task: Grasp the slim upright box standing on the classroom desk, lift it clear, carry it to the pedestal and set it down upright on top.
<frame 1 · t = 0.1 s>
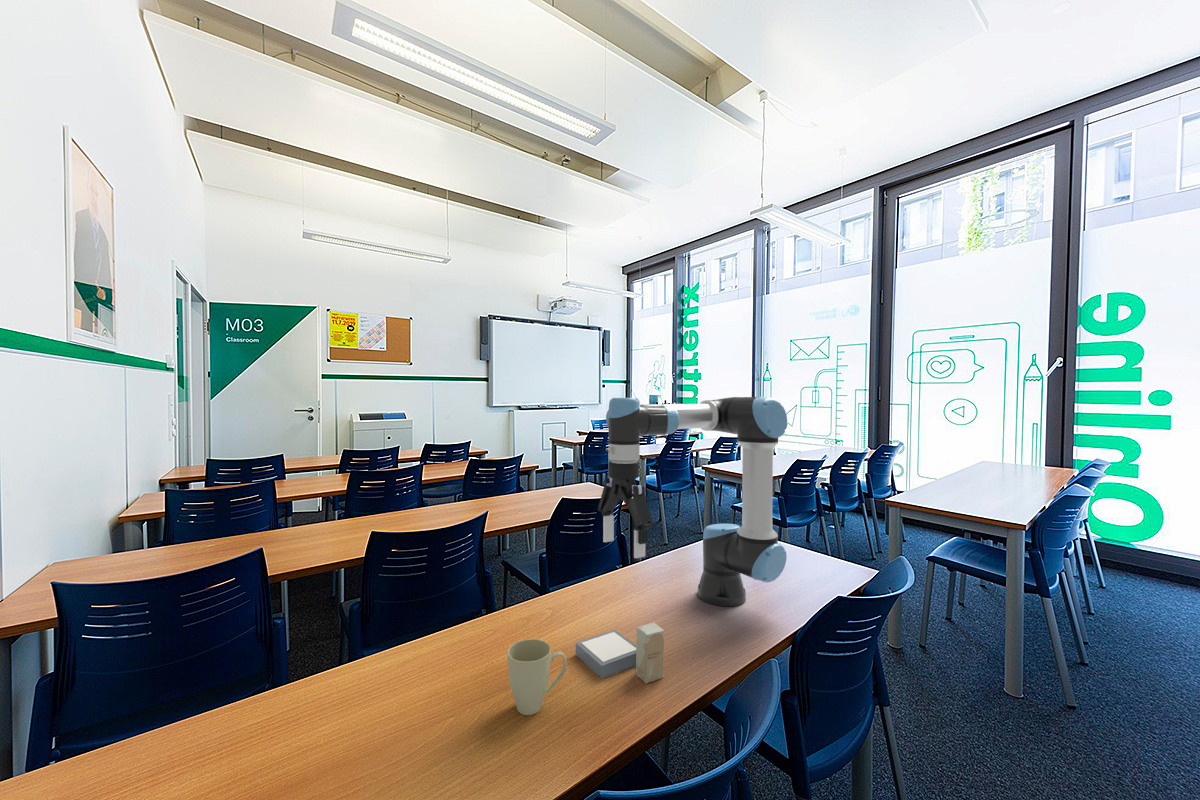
hand: (623, 548, 113), 28 cm above the table, fingers open, 13 cm apart
pedestal: (608, 658, 115), on the table
box: (649, 676, 108), on the table
mug: (534, 706, 98), on the table
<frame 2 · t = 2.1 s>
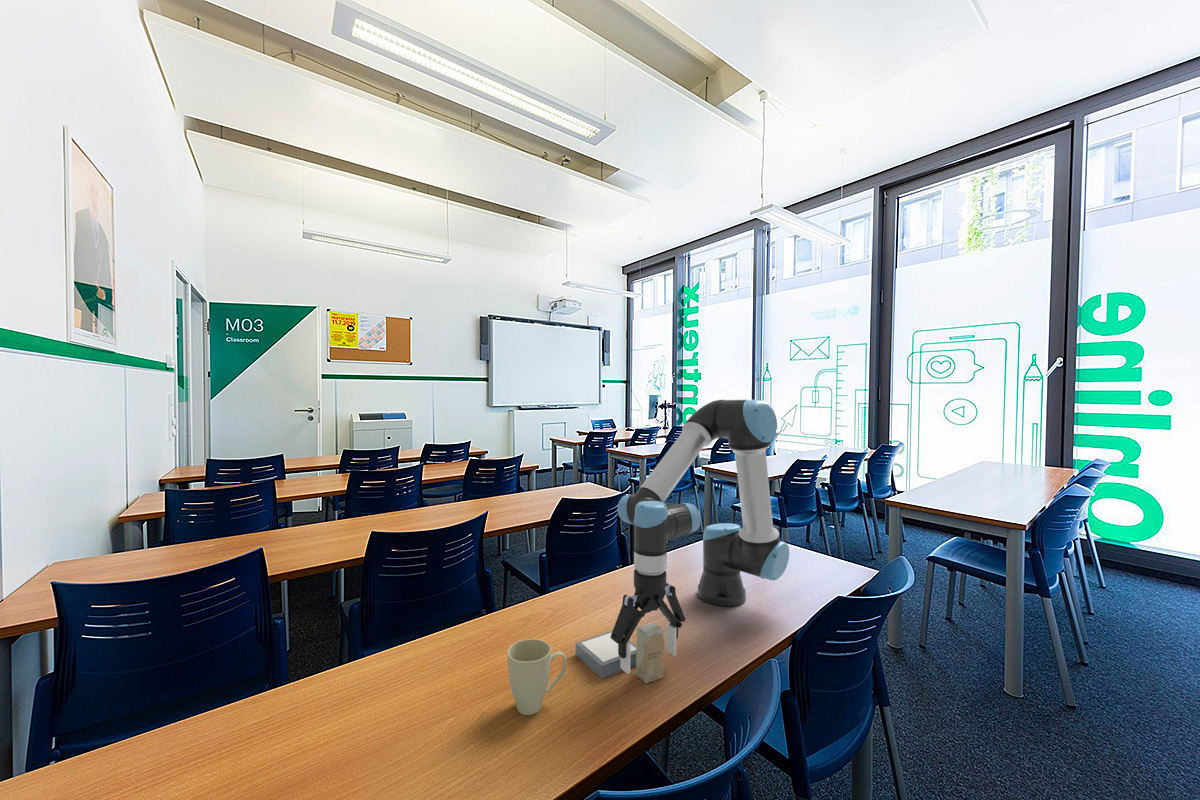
hand: (649, 661, 108), 3 cm above the table, fingers open, 13 cm apart
nothing on the table moved.
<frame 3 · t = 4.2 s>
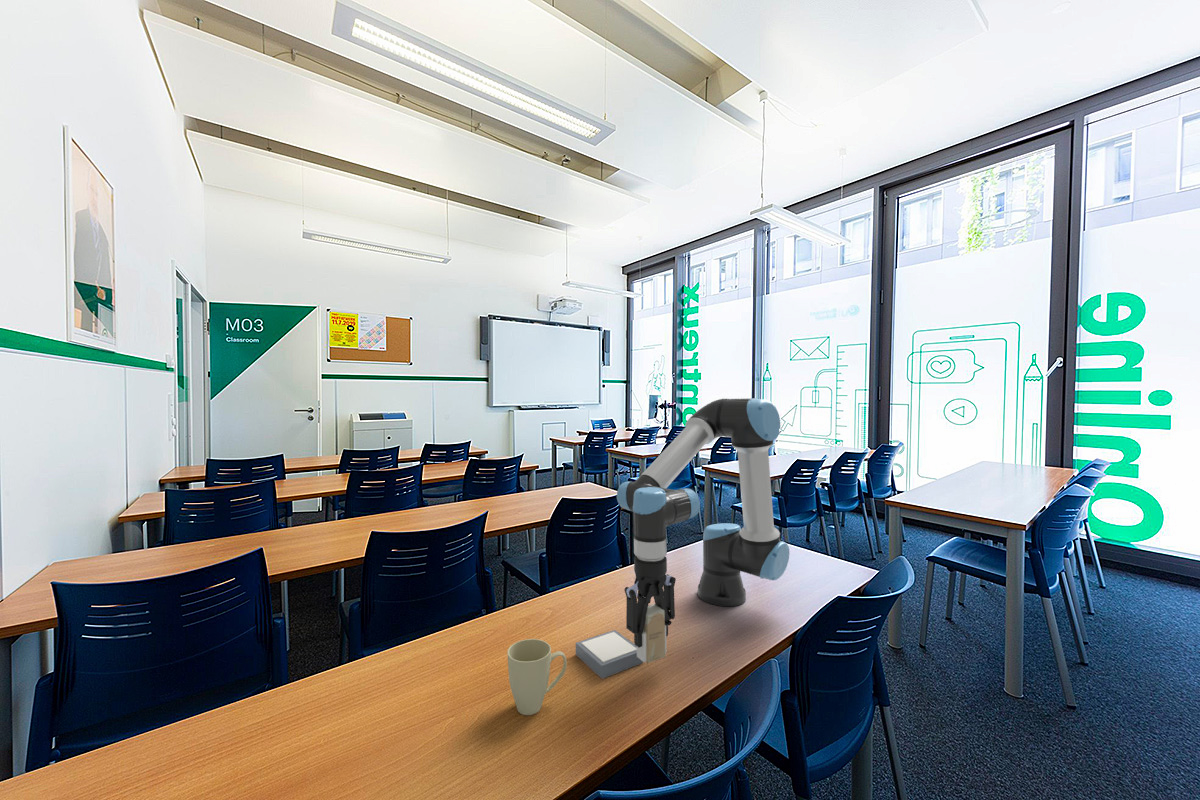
hand: (651, 654, 109), 5 cm above the table, fingers closed on box, 5 cm apart
box: (651, 656, 109), point 4 cm above the table, touching gripper
everything else where it was.
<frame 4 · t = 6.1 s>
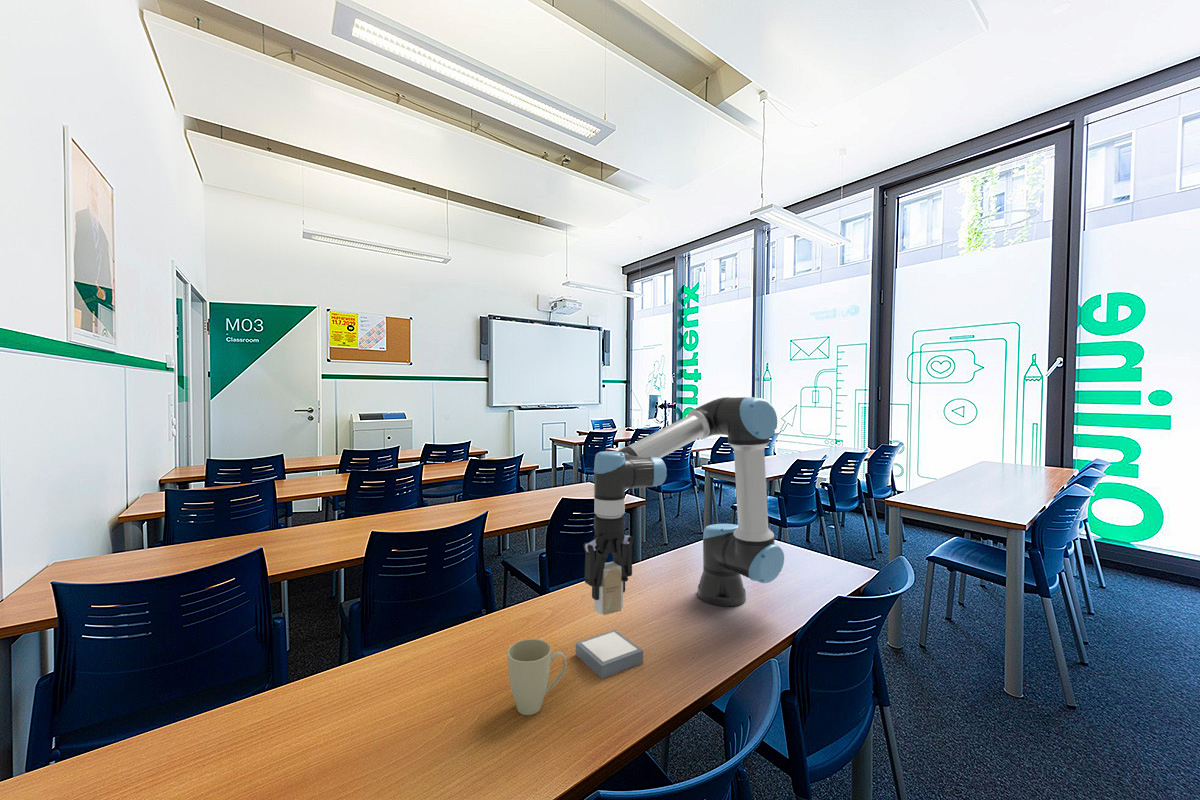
hand: (608, 608, 115), 12 cm above the table, fingers closed on box, 5 cm apart
box: (608, 610, 115), point 12 cm above the table, touching gripper
everything else where it was.
when the fingers open (4 cm above the table, at t = 8.1 s): box stays where it is, resting on pedestal.
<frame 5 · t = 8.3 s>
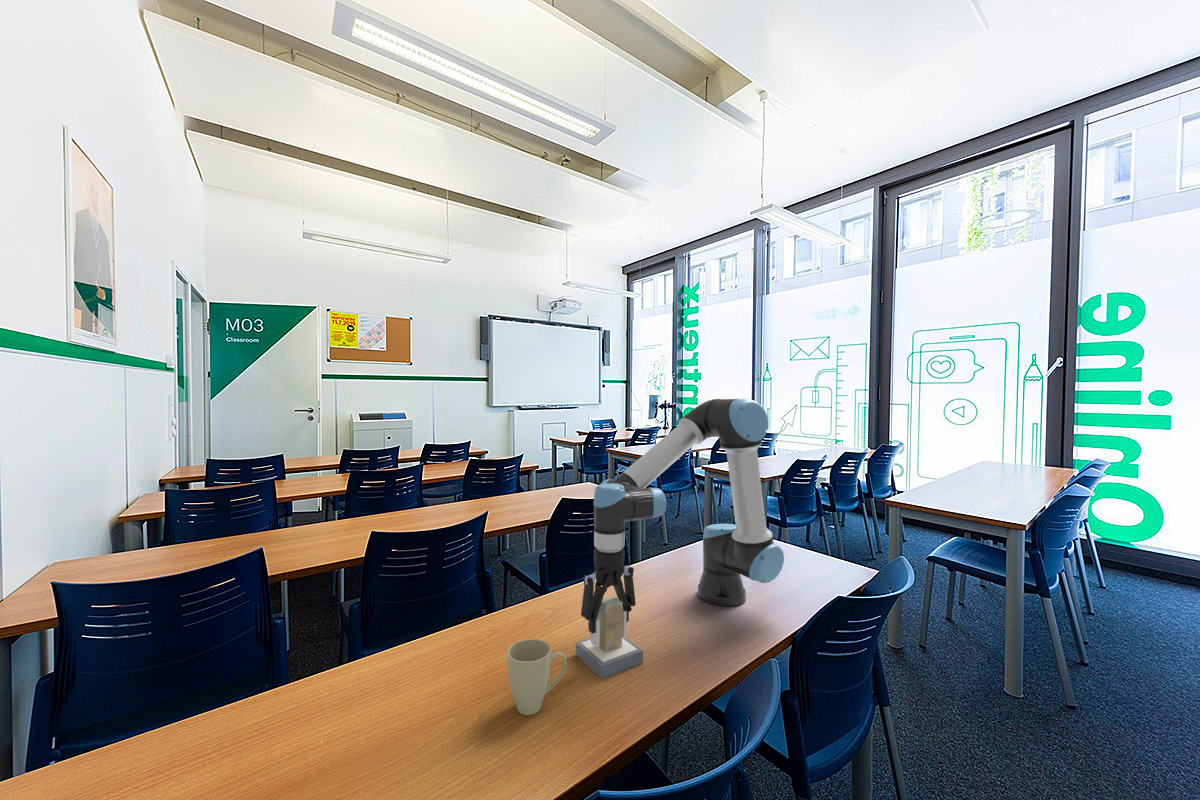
hand: (608, 640, 115), 5 cm above the table, fingers open, 7 cm apart
box: (609, 646, 115), point 3 cm above the table, touching pedestal
everything else where it was.
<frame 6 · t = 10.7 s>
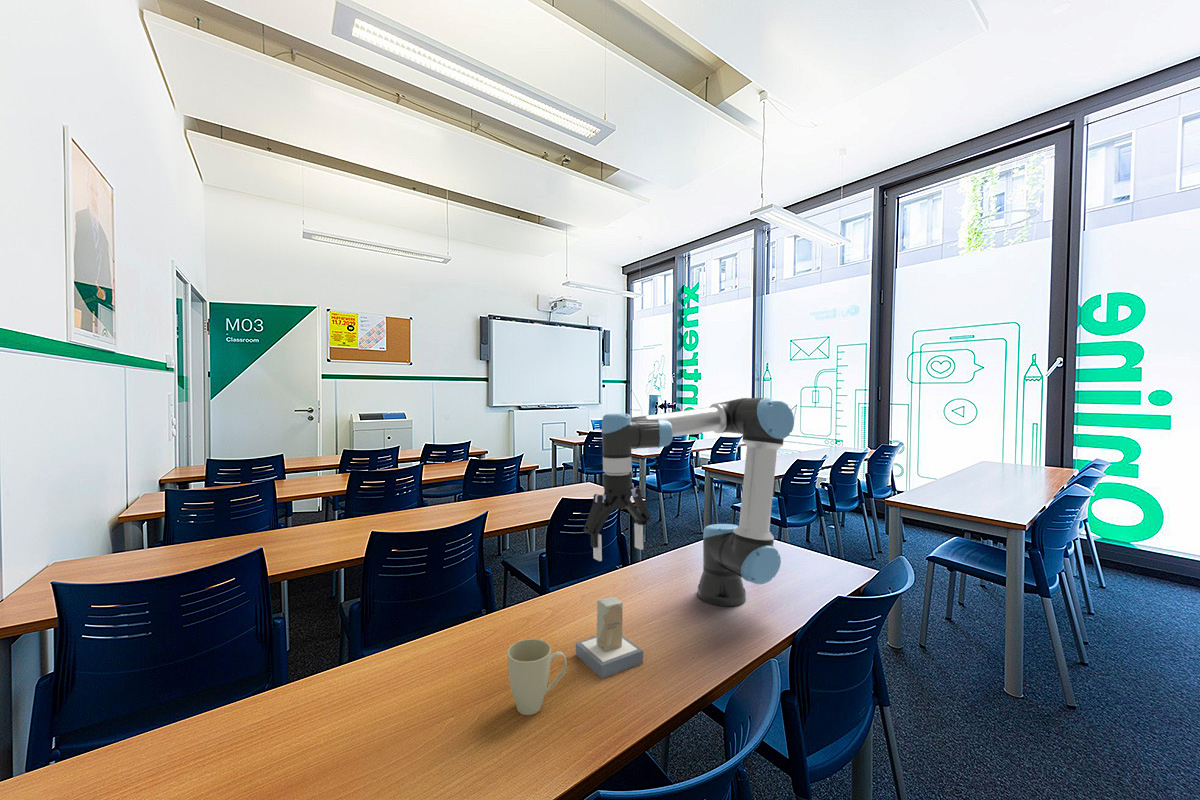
hand: (619, 553, 122), 24 cm above the table, fingers open, 13 cm apart
nothing on the table moved.
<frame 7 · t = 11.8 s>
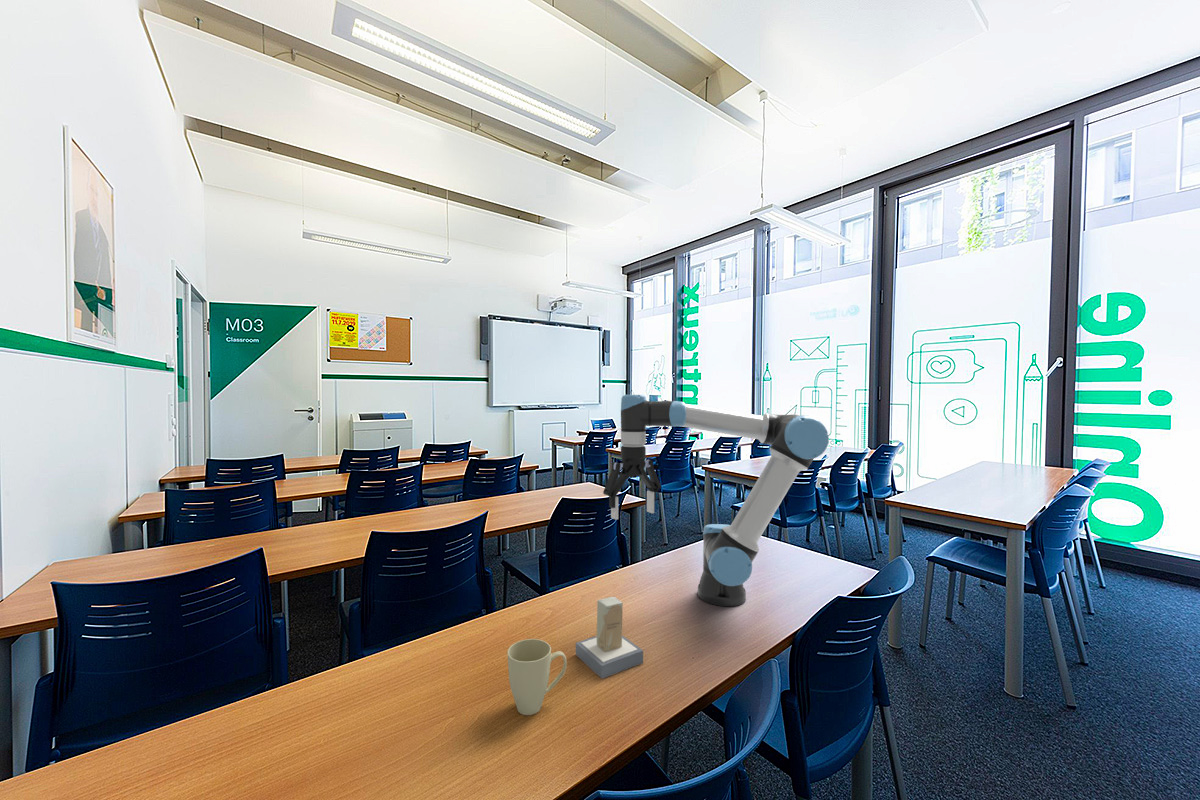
hand: (633, 515, 142), 29 cm above the table, fingers open, 13 cm apart
nothing on the table moved.
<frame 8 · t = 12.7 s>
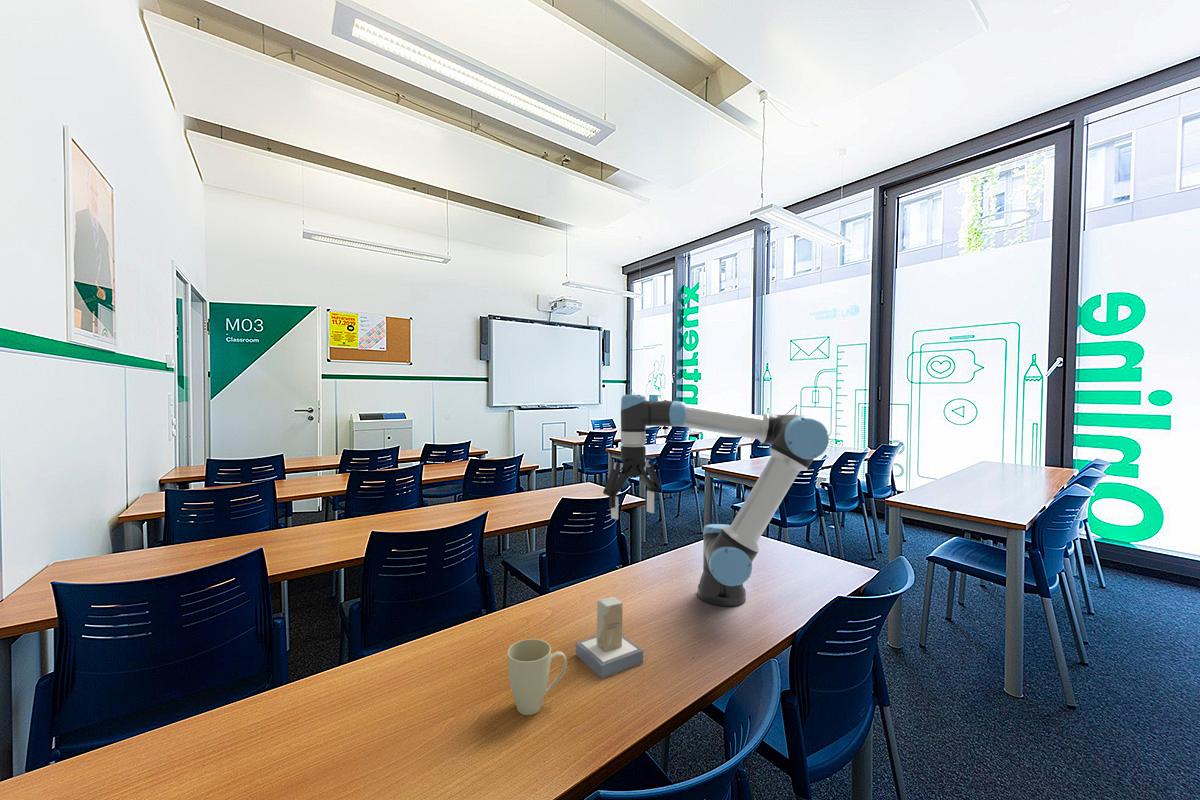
hand: (633, 515, 142), 29 cm above the table, fingers open, 13 cm apart
nothing on the table moved.
at the end: box inside the target area on the pedestal (0.2 cm from its centre), point 2.9 cm above the pedestal's base; box tilted 0°; the gripper is holding nothing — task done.
